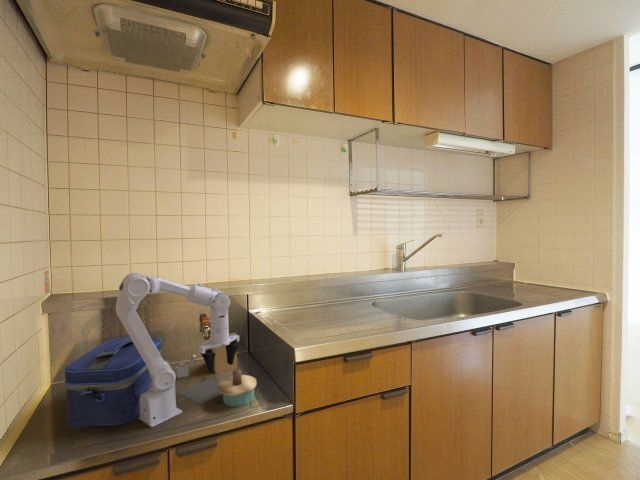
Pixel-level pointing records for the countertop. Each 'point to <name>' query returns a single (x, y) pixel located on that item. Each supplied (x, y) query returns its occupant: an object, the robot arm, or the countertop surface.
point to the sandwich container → (223, 359)
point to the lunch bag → (107, 384)
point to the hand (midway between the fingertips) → (220, 367)
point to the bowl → (238, 399)
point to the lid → (237, 384)
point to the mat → (202, 392)
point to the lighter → (185, 368)
